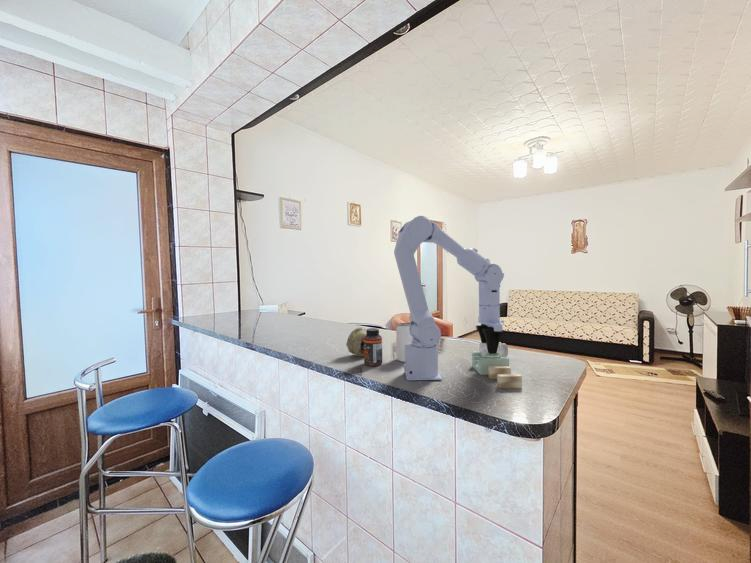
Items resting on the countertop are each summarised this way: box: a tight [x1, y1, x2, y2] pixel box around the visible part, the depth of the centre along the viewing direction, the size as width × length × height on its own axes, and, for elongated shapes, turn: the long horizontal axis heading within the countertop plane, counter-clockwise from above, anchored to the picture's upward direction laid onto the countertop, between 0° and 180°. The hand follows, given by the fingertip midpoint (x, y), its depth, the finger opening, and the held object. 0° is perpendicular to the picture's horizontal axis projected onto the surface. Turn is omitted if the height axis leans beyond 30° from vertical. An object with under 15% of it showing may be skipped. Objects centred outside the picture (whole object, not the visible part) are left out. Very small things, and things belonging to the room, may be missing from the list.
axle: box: [478, 342, 509, 358], centre depth 89 cm, size 7×4×4 cm, turn 87°
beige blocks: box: [487, 365, 523, 389], centre depth 80 cm, size 6×8×3 cm
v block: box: [471, 351, 510, 376], centre depth 90 cm, size 8×8×4 cm
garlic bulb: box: [345, 326, 367, 358], centre depth 108 cm, size 9×8×10 cm
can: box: [395, 322, 413, 363], centre depth 102 cm, size 6×6×12 cm
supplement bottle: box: [363, 327, 383, 367], centre depth 98 cm, size 6×6×11 cm
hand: (489, 351), depth 89 cm, fingers closed on axle, 4 cm apart
